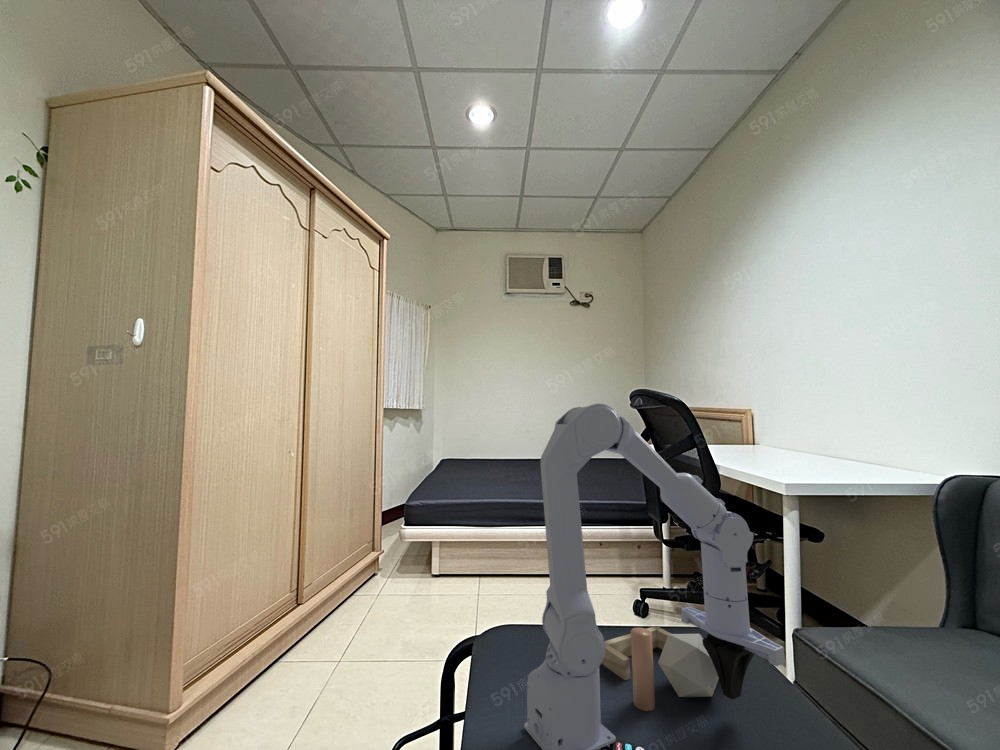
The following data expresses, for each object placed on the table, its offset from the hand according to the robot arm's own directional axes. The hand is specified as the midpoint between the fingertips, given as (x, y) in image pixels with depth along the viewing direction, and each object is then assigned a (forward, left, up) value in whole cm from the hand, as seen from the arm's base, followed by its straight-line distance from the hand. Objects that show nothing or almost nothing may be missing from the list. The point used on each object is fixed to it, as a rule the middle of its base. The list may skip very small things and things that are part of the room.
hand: (732, 695), depth 60 cm
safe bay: (0, +17, -3) cm, 17 cm away
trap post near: (-9, +8, -3) cm, 12 cm away
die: (0, +7, -3) cm, 8 cm away
